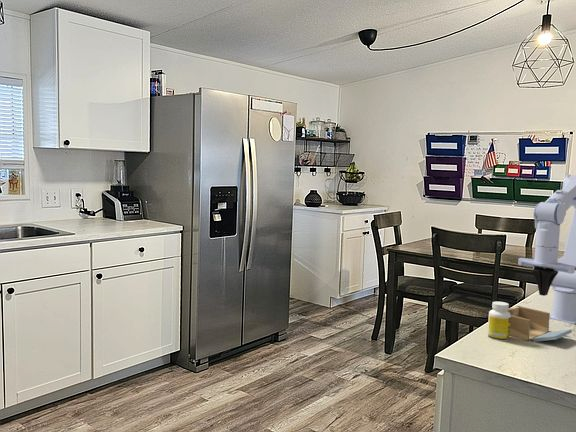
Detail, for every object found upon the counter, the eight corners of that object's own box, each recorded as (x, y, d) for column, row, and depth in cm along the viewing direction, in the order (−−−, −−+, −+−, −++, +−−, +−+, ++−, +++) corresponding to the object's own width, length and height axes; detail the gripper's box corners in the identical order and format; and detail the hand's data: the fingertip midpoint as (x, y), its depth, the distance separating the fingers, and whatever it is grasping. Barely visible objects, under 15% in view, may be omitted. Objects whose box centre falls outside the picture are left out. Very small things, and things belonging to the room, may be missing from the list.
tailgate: (549, 332, 142) (571, 329, 138) (550, 335, 142) (572, 333, 138) (532, 338, 136) (555, 336, 132) (533, 342, 136) (556, 340, 132)
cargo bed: (516, 326, 151) (517, 305, 150) (552, 335, 143) (553, 313, 142) (494, 334, 143) (495, 312, 142) (530, 344, 135) (532, 321, 135)
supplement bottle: (511, 343, 135) (513, 306, 134) (489, 342, 136) (491, 305, 136) (506, 337, 141) (509, 301, 140) (485, 335, 142) (487, 299, 141)
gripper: (514, 243, 147) (510, 291, 148) (568, 251, 136) (564, 302, 137) (526, 241, 151) (523, 288, 153) (579, 248, 140) (575, 298, 142)
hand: (543, 294), depth 145 cm, fingers closed
